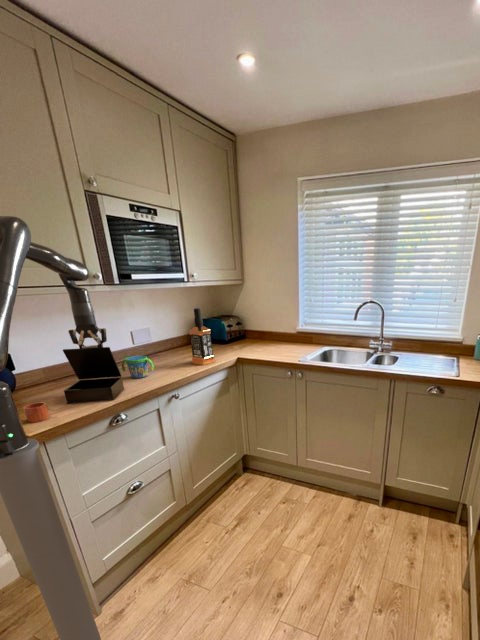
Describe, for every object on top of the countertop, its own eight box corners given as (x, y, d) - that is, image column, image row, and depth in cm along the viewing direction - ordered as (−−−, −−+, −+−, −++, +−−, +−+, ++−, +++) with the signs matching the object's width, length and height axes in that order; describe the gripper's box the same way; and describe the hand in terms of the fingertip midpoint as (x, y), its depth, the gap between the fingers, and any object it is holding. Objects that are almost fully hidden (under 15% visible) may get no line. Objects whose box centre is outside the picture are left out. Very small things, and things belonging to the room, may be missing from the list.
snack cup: (159, 374, 178) (155, 355, 175) (148, 379, 168) (145, 360, 165) (131, 373, 179) (127, 355, 176) (119, 379, 169) (115, 360, 166)
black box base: (113, 400, 141) (110, 387, 139) (67, 403, 137) (63, 390, 135) (124, 388, 155) (121, 377, 153) (82, 392, 151) (79, 379, 149)
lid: (109, 348, 141) (111, 341, 144) (62, 350, 137) (66, 343, 141) (121, 376, 153) (123, 369, 156) (78, 379, 149) (81, 372, 152)
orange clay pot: (44, 421, 120) (39, 407, 118) (24, 423, 119) (19, 409, 117) (52, 415, 126) (48, 401, 124) (33, 416, 125) (29, 403, 123)
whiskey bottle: (215, 361, 203) (209, 308, 192) (204, 365, 195) (197, 309, 184) (203, 359, 208) (196, 307, 197) (191, 363, 200) (183, 309, 188)
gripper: (60, 315, 135) (70, 355, 140) (99, 313, 138) (107, 353, 143) (68, 313, 141) (78, 352, 147) (105, 312, 145) (113, 350, 150)
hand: (92, 352), depth 145 cm, fingers closed on lid, 6 cm apart
